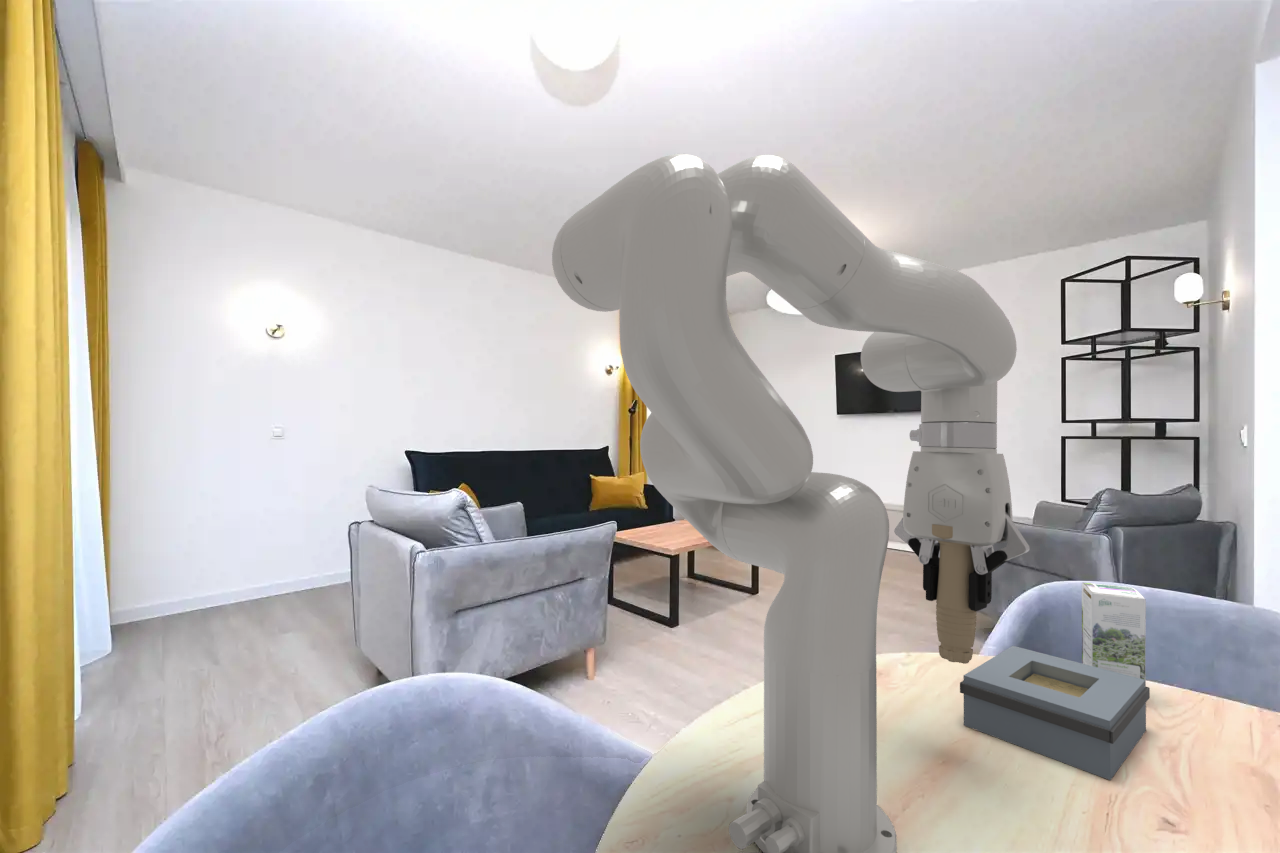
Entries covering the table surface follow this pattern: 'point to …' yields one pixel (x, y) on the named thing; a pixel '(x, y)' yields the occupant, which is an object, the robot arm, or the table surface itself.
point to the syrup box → (1114, 629)
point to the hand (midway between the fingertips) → (956, 602)
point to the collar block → (1057, 709)
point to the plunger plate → (1056, 685)
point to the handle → (954, 599)
